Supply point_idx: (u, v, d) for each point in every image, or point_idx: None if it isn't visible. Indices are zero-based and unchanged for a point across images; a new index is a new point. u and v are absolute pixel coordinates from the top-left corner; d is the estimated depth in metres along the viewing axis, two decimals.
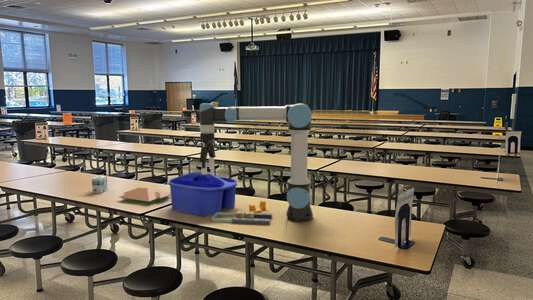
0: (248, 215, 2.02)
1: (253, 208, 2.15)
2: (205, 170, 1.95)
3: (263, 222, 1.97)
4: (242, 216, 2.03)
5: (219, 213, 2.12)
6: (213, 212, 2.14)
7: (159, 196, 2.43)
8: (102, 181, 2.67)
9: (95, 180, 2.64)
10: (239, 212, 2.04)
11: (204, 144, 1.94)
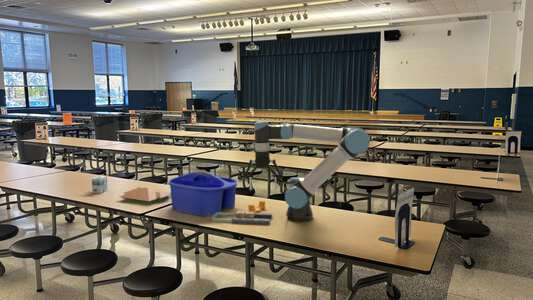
0: (248, 215, 2.02)
1: (252, 208, 2.16)
2: None
3: (263, 222, 1.97)
4: (242, 216, 2.03)
5: (219, 213, 2.12)
6: (213, 212, 2.14)
7: (159, 196, 2.43)
8: (102, 181, 2.67)
9: (95, 180, 2.64)
10: (239, 212, 2.04)
11: (249, 161, 1.99)
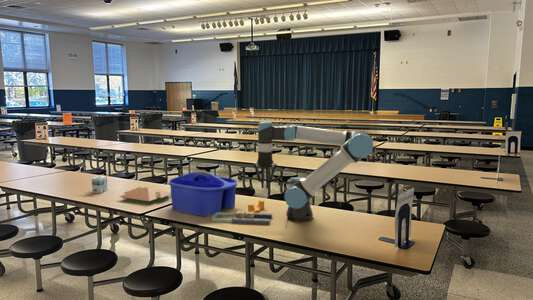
0: (248, 215, 2.02)
1: (252, 208, 2.16)
2: None
3: (263, 222, 1.97)
4: (242, 216, 2.03)
5: (219, 213, 2.12)
6: (213, 212, 2.14)
7: (159, 196, 2.44)
8: (102, 181, 2.67)
9: (95, 180, 2.64)
10: (239, 212, 2.04)
11: None
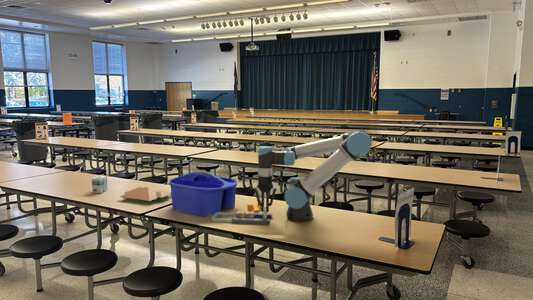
0: (248, 215, 2.02)
1: (251, 208, 2.16)
2: None
3: (263, 222, 1.97)
4: (242, 216, 2.03)
5: (219, 213, 2.12)
6: (212, 212, 2.14)
7: (160, 196, 2.44)
8: (102, 181, 2.67)
9: (95, 180, 2.64)
10: (239, 212, 2.04)
11: None
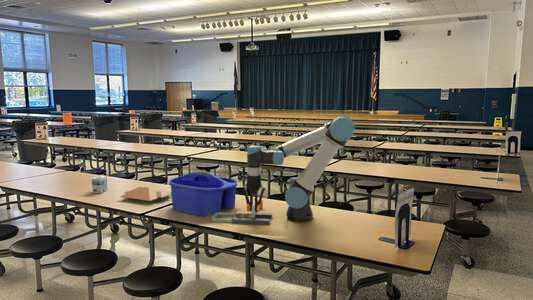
0: (247, 215, 2.02)
1: None
2: (252, 213, 2.03)
3: (263, 222, 1.97)
4: (242, 216, 2.03)
5: (219, 213, 2.12)
6: (212, 212, 2.14)
7: (160, 195, 2.44)
8: (102, 181, 2.67)
9: (95, 180, 2.64)
10: (239, 212, 2.04)
11: None
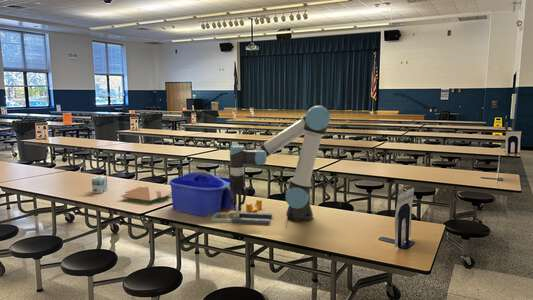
0: (231, 214, 2.03)
1: (250, 207, 2.17)
2: None
3: (263, 222, 1.97)
4: (227, 217, 2.04)
5: (219, 213, 2.12)
6: (212, 212, 2.14)
7: (160, 195, 2.45)
8: (102, 181, 2.67)
9: (95, 180, 2.64)
10: (224, 213, 2.06)
11: None
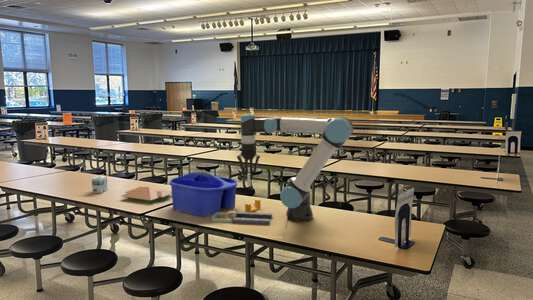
0: (230, 214, 2.04)
1: (249, 207, 2.17)
2: None
3: (263, 222, 1.97)
4: (226, 217, 2.04)
5: (219, 213, 2.12)
6: (211, 212, 2.13)
7: (161, 195, 2.45)
8: (102, 181, 2.67)
9: (95, 180, 2.64)
10: (223, 213, 2.06)
11: None
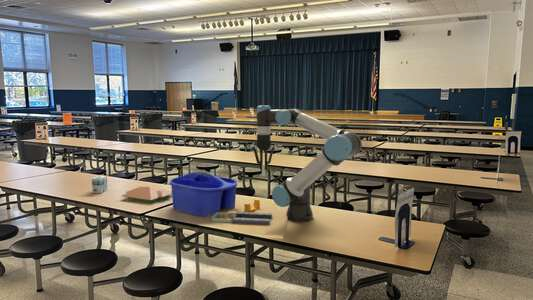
0: (230, 214, 2.04)
1: (248, 207, 2.18)
2: (262, 172, 2.07)
3: (263, 222, 1.97)
4: (226, 217, 2.04)
5: (219, 213, 2.12)
6: (211, 212, 2.13)
7: (161, 195, 2.46)
8: (102, 181, 2.67)
9: (95, 180, 2.64)
10: (223, 213, 2.06)
11: None
